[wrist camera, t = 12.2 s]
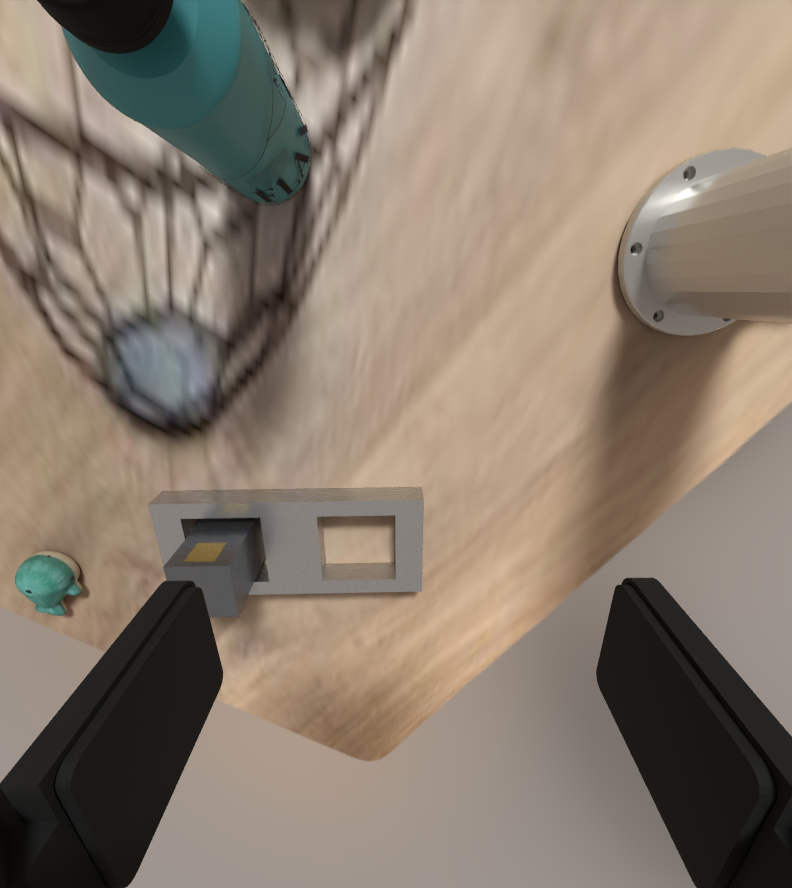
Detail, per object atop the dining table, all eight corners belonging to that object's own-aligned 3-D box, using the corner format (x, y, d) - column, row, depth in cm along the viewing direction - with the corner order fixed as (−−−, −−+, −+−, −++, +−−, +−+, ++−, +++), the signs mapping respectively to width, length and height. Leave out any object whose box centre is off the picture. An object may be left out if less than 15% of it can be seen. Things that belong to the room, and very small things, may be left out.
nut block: (259, 511, 38) (229, 565, 31) (266, 556, 40) (238, 617, 33) (206, 512, 38) (163, 566, 31) (215, 557, 40) (176, 618, 33)
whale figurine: (92, 554, 40) (63, 580, 36) (88, 609, 42) (61, 639, 39) (29, 539, 39) (-7, 564, 36) (29, 597, 42) (-5, 625, 38)
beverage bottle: (277, 231, 30) (96, 135, 11) (204, 155, 28) (-157, -112, 9) (337, 160, 28) (243, -90, 10) (264, 74, 27) (-25, -434, 8)
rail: (421, 487, 38) (423, 500, 35) (419, 574, 41) (421, 591, 39) (162, 491, 37) (147, 504, 35) (183, 578, 41) (171, 596, 39)
